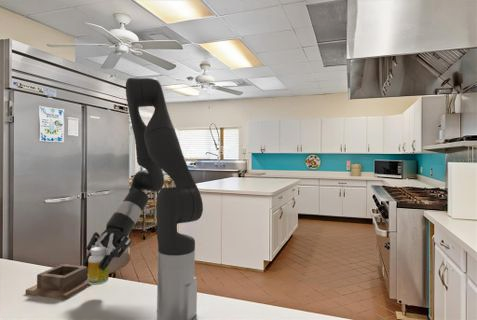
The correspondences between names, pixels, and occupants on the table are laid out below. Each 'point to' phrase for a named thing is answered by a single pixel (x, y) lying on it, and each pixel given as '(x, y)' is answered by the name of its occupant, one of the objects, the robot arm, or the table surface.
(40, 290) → the box
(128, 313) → the table surface
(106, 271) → the supplement bottle
